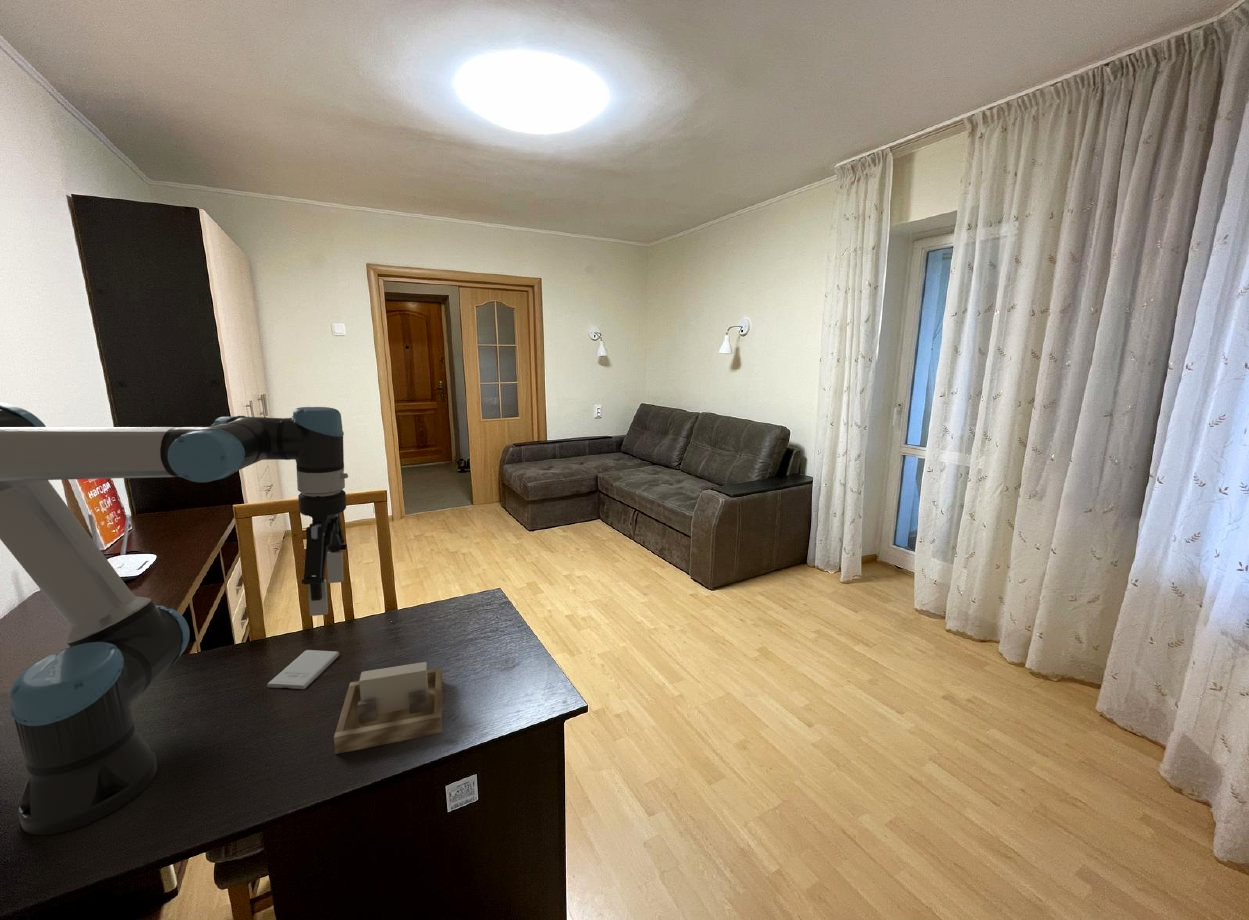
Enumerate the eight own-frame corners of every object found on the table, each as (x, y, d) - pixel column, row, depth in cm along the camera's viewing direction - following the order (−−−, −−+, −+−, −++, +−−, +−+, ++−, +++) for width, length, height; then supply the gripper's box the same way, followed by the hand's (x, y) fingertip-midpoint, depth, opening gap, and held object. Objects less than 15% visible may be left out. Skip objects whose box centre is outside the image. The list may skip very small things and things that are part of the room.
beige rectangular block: (362, 717, 97) (359, 680, 96) (364, 707, 100) (361, 671, 99) (427, 705, 101) (425, 670, 100) (428, 695, 104) (426, 661, 102)
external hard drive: (339, 657, 119) (304, 691, 106) (305, 655, 119) (267, 689, 107) (338, 651, 118) (303, 684, 106) (305, 649, 119) (266, 682, 106)
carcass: (335, 754, 90) (333, 730, 89) (351, 697, 104) (349, 676, 103) (441, 732, 95) (440, 709, 94) (442, 681, 110) (441, 661, 109)
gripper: (329, 510, 82) (335, 628, 86) (357, 475, 105) (361, 569, 109) (275, 512, 79) (284, 633, 83) (316, 475, 102) (322, 571, 106)
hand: (328, 597), depth 96 cm, fingers open, 13 cm apart
